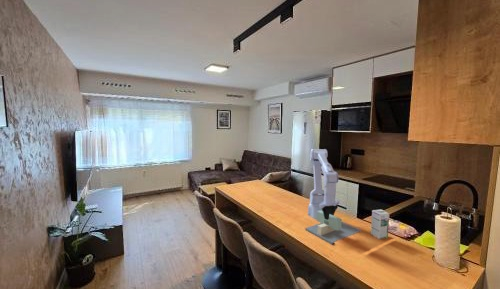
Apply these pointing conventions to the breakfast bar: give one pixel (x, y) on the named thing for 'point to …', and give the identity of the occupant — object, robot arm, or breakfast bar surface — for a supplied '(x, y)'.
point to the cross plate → (329, 220)
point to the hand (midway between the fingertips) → (328, 218)
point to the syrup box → (380, 224)
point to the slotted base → (332, 232)
